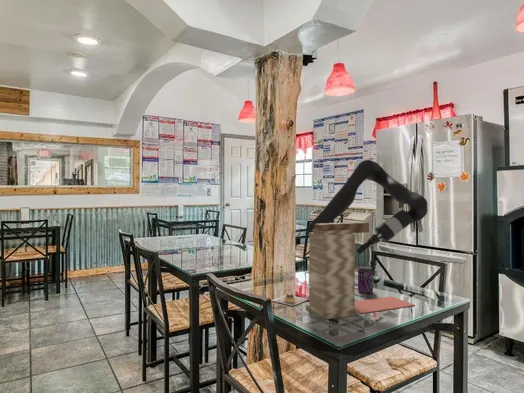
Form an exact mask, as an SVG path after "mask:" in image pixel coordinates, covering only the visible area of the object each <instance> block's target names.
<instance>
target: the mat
mask: <svg viewBox="0 0 524 393" xmlns="http://www.w3.org/2000/svg"><path fill="white" fill-rule="evenodd" d="M410 306H411V307H416V305H415V304H413V303H410V302H408V301H405V300H403V299H400V298H397V297H395V296H392V295H391V296H382V297H376V298H371V299H370V298H368V299H362V300H355V308H356V309H358V314H361V315H363V314H370V313H375V312H383V311H390V310H396V309H402V308H403V309H404V308H409V307H410ZM411 307H410V308H411Z"/></svg>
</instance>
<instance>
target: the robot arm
mask: <svg viewBox="0 0 524 393" xmlns="http://www.w3.org/2000/svg"><path fill="white" fill-rule="evenodd" d="M365 180H368V181H372V182H375V183H376V184H378V185H380V186H381V187H382V188H383V189H384V190H385V191H386V193H387V194H388V195H389V196H391V197H392V198H393V199H395V200H396V201H397V202H399V203H400V204H401V205H408V206H409V209H408V210H405V209H404V210H403V209H401V210H399V211H398V212H396V213H395V214H393V215H392V216H391V217H388V218H386V219H385V220H384V221H383V222H381V223H380V224H379V225H378V226H376V227H375V228H374V231H375V233H374V234H372V235H371V236H370V237H368V239H366V241H365V242H364V243H363V244H362V245H360V246H359V247H358V248H357V249H356V252H357V254H358V255H361V254H362V253H363V252H365V251H367V250H368V249H369V248H372V247H374V246H375V245H378V244H379V243H380V242H381V241H383V242H384V243H387V242H389V241H390V240H392V239H393V238H394V237H396V236H397V235H398V234H399V233H401V231H403V230H404V229H405V228H407V227H408V226H409V225H410V224H413V223H416V222H418V221H420V220H423V218H424V217H425V216H427V214H428V201H427V199H426V198H425V197H424V196H423V195H421V194H419V193H417V192H414V191H412V190H410V189H409V188H407V187H406V186H405V185H403V184H402V183H400V182H399V181H397V180H396V179H394V178H393V177H392V176H391V175H390V174H389V173H387V171H385V170H384V168H383V167H382V166H381V165H380V164H379V163H378V162H376V161H374V160H371V159H368V158H367V159H362V161H360V162H359V164H357V166H356V168H355V169H354V170H353V172H352V174H351V175H350V177H349V178H348V179H347V180H346V182H345V183H343V185H342V187H340V189H339V190H338V192H336V193H335V195H334V196H333V197H332V199H331V200H330V201H329V202H328V203H327V205H326V206H325V207H324V208H323V210H322V211H321V212H320V213H319V214H318V215H317V216H316V217H315V218H314V219H313V220H312V221H311V222H310V223H309V225H308V226H307V234H308V235H309V234H310V233H311V232H313V230H314V224H322V223H333V221H334V220H335V219H337V218H338V217H339V216H342V214H344V213H345V212H346V211H347V210H348V209H349V207H350V206H352V204H353V202H354V201H355V198H356V195H357V191H358V189H359V187H360V186H361V185H362V184H363V182H364V181H365Z"/></svg>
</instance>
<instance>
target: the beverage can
mask: <svg viewBox="0 0 524 393" xmlns="http://www.w3.org/2000/svg"><path fill="white" fill-rule="evenodd" d="M357 291H359V292H360V293H363V294H370V293H373V291H374V270H373V267H371V266H367V265H365V266H364V265H362V266H361V265H360V266H359V267H358V269H357Z"/></svg>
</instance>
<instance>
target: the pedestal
mask: <svg viewBox="0 0 524 393" xmlns="http://www.w3.org/2000/svg"><path fill="white" fill-rule="evenodd" d="M308 236H309V240H308V242H309V252H308V253H309V260H308V263H309V264H308V286H309V288H308V292H309V293H308V303H306V304H305V309H306V310H308V311H309V312H311V313H312V314H313V315H315V316H317V317H319V318H320V319H321V320H322V319H323V320H329V319H337V318H341V317H349V316H356V315H359V313H358V309H356V308H355V301H356V300H355V299H356V298H355V297H356V294H355V293H356V292H355V290H356V285H355V284H356V283H355V282H356V281H355V280H356V272H355V271H356V233H351V230H332V231H320V235H319V234H314V230H313V232H311V233H310V234H308Z"/></svg>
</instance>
